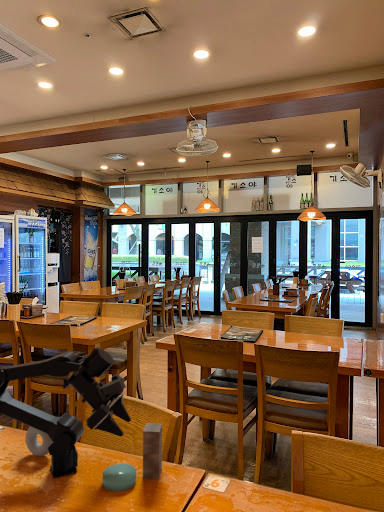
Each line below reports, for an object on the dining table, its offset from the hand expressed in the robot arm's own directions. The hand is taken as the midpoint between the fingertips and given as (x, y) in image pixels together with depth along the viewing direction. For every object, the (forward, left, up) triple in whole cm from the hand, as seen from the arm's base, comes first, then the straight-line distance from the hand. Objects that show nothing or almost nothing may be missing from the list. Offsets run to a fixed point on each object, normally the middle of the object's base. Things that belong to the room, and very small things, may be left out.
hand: (126, 428), depth 110 cm
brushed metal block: (+6, -4, -13) cm, 15 cm away
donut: (-21, +22, -13) cm, 32 cm away
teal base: (-3, -3, -13) cm, 13 cm away
